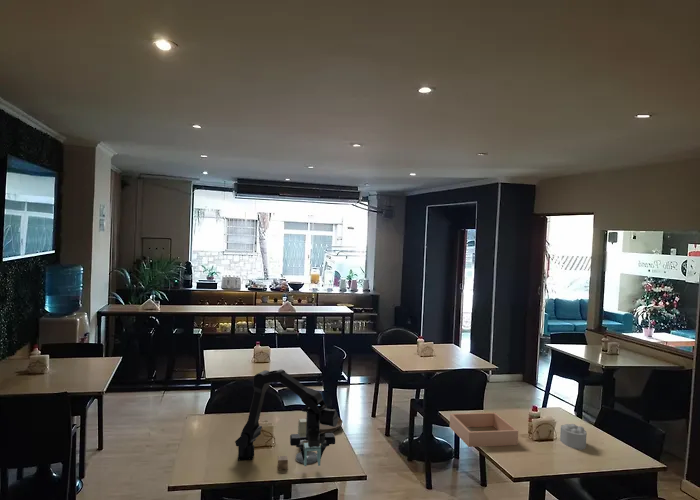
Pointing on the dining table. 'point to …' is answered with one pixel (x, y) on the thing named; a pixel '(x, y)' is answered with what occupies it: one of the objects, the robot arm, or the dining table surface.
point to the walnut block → (282, 462)
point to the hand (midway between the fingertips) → (311, 459)
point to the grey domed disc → (310, 457)
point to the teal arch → (307, 448)
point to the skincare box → (302, 428)
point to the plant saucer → (330, 427)
